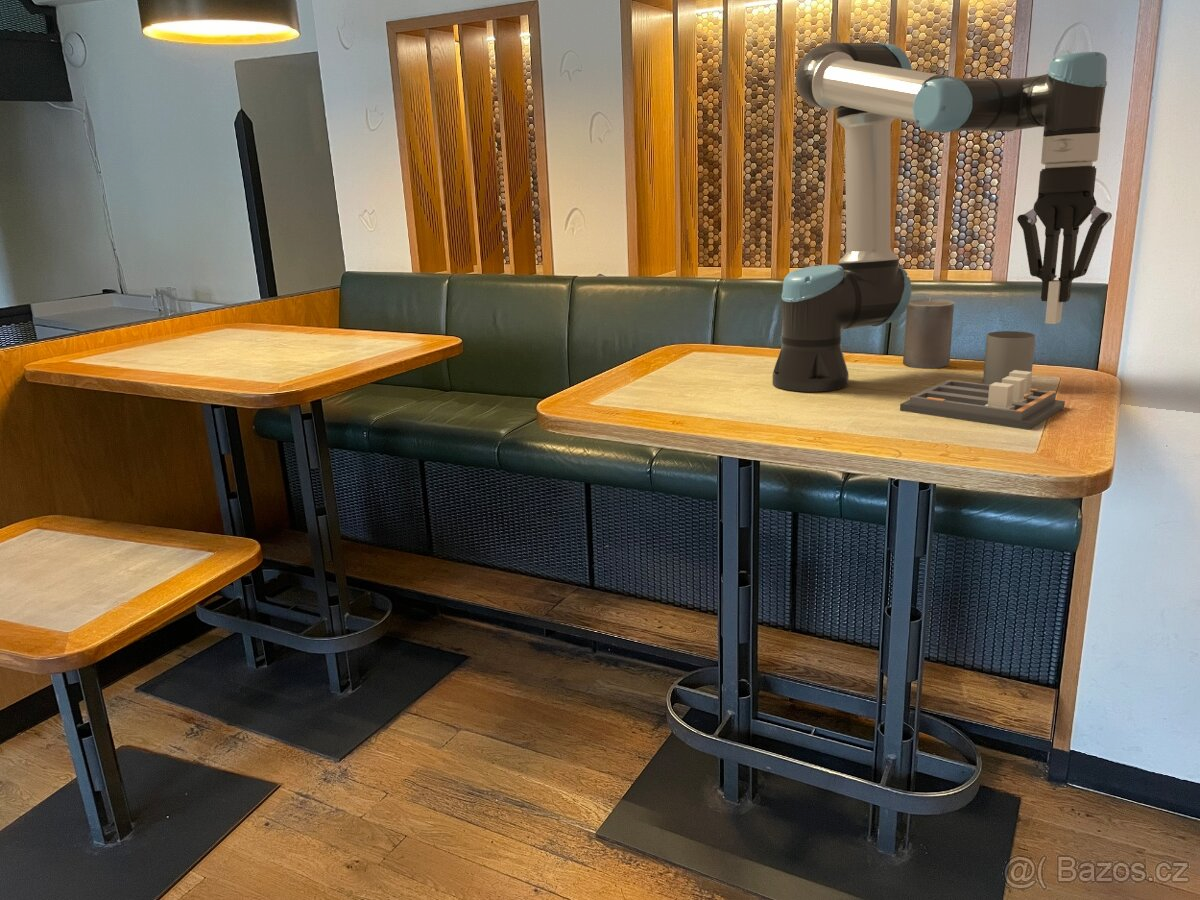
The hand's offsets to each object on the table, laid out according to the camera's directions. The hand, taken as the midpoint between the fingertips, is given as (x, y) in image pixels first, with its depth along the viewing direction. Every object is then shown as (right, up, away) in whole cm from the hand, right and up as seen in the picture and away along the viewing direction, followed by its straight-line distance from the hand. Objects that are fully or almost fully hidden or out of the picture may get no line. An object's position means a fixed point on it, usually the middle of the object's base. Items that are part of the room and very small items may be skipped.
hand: (1053, 322), depth 136 cm
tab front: (-4, -14, +9) cm, 17 cm away
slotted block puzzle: (-4, -13, +16) cm, 21 cm away
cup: (+8, -8, +32) cm, 34 cm away
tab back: (+3, -11, +17) cm, 20 cm away
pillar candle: (0, -2, +54) cm, 54 cm away
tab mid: (-1, -12, +13) cm, 18 cm away
